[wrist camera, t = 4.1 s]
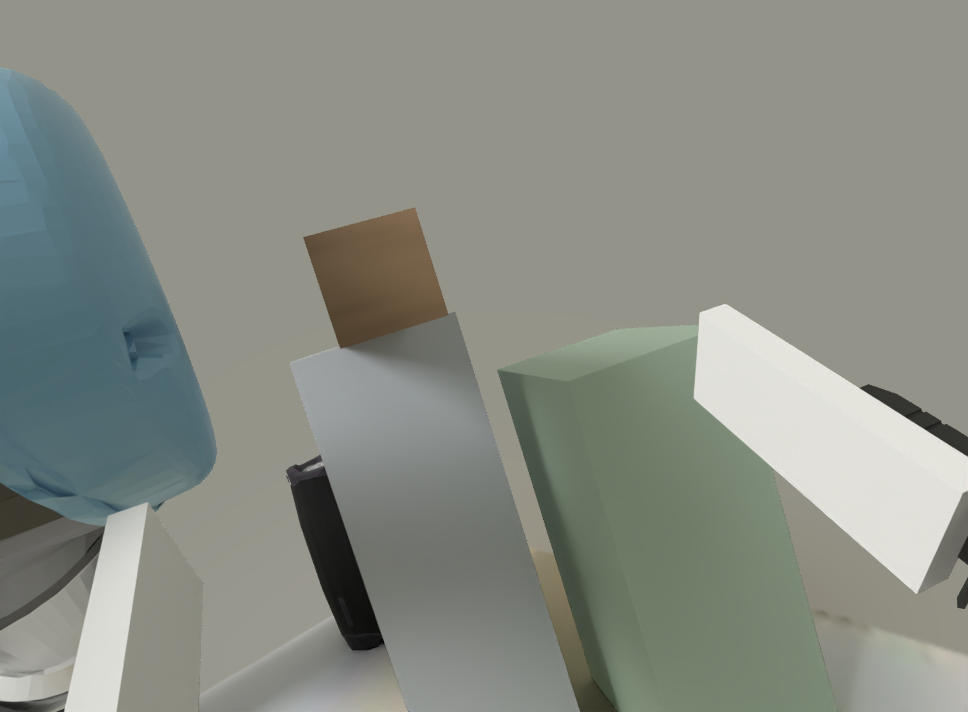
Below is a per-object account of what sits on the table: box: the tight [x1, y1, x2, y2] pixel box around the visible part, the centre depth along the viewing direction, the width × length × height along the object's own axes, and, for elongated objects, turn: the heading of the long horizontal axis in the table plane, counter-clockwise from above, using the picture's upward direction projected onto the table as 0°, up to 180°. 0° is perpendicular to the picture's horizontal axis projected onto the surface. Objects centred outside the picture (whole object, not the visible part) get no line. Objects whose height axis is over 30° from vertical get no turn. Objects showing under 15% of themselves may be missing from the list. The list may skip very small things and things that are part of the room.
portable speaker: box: [286, 455, 382, 650], centre depth 63 cm, size 9×9×20 cm
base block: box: [497, 325, 837, 712], centre depth 39 cm, size 14×10×25 cm
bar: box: [304, 208, 448, 349], centre depth 37 cm, size 34×4×4 cm, turn 14°
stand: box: [289, 312, 580, 712], centre depth 46 cm, size 20×10×30 cm, turn 14°
